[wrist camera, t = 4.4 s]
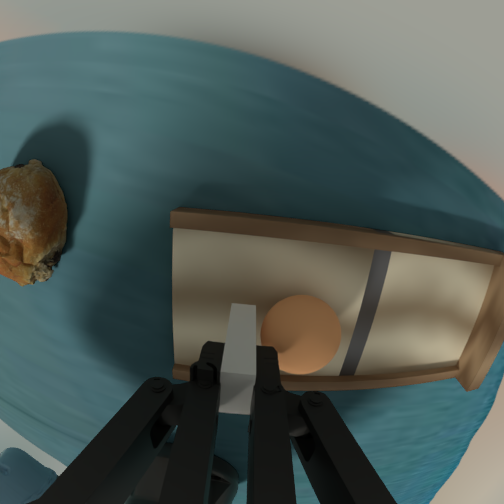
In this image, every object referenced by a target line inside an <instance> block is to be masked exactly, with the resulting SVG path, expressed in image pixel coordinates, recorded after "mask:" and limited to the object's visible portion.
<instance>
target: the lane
mask: <svg viewBox="0 0 504 504" xmlns="http://www.w3.org/2000/svg"><path fill="white" fill-rule="evenodd" d="M170 228H173V254H172V310H173V341H174V360H175V364H174V366H173V369H172V371H173V379H178V380H184V381H190V366H191V365H192V364H193V363H194V362H196V361H198V360H199V357H200V353H201V349H202V346H203V345H204V344H205V343H206V342H207V341H213V342H222V343H225V341H226V335H227V329H228V323H229V317H230V311H231V305H232V303H237V304H247V305H256V345H259V346H262V345H261V338H260V333H261V327H262V323H263V320H264V318H265V316H266V315H267V313H268V312H269V310H270V309H271V308H272V307H273V306H274V305H275V304H276V303H278V302H279V301H281V300H283V299H285V298H287V297H290V296H294V295H309V296H313V297H316V298H319V299H321V300H323V301H324V302H325V303H327V304H328V305H329V306H330V307H331V308H332V309H333V310H334V312H335V313H336V315H337V317H338V319H339V322H340V326H341V341H340V345H339V348H338V351H337V352H336V354H335V356H334V357H333V359H332V360H331V361H330V362H329V363H328V364H327V365H326V366H324V367H323V368H321V369H320V370H317V371H315V372H312V373H309V374H291V373H287V372H285V371H282V370H280V369H279V370H280V379H281V385H282V386H283V387H284V389H285V390H289V391H338V390H360V389H374V388H386V387H396V386H404V385H412V384H419V383H426V382H432V381H438V380H444V379H449V378H454V377H456V379H457V380H458V381H459V382H460V384H461V385H462V386H463V388H464V389H465V390H466V391H471V390H475V389H478V388H479V386H480V385H481V383H482V381H483V380H484V378H485V376H486V374H487V373H488V371H489V369H490V367H491V365H492V363H493V361H494V359H495V357H496V355H497V353H498V351H499V349H500V347H501V345H502V343H503V341H504V253H503V252H500V251H496V250H491V249H486V248H481V247H476V246H471V245H466V244H461V243H455V242H450V241H444V240H439V239H433V238H427V237H421V236H415V235H409V234H403V233H397V232H391V231H384V230H378V229H371V228H364V227H357V226H350V225H343V224H335V223H328V222H320V221H312V220H304V219H296V218H287V217H279V216H270V215H260V214H251V213H241V212H231V211H220V210H209V209H197V208H185V207H178V208H176V209H174V210H172V211H170Z"/></svg>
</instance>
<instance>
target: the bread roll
mask: <svg viewBox="0 0 504 504" xmlns="http://www.w3.org/2000/svg"><path fill="white" fill-rule="evenodd" d="M67 212H68V211H67V204H66V203H65V198H64V195H63V191H62V190H61V188H60V186H59V184H58V182H57V180H56V178H55V176H54V175H53V173H52V172H51V171H50V170H49V169H47V168H45V167H44V166H42V162H41V161H38V160H36V159H33V160H29V164H28V165H23V164H19V165H16V166H13V167H12V166H11V167H7V168H3V169H1V170H0V274H1V275H3V276H5V277H7V278H10V279H12V280H14V281H16V282H17V283H18V284H19V285H20V286H24V285H27V284H34V283H35V281H36V280H39V281H40V282H44V281H47V280H48V279H49V278H50V277H51V276H52V273H53V271H54V270H52V266H53V265H55V264H56V263H57V262H58V261H60V258H61V254H62V248H63V247H64V245H65V242H66V229H67V226H66V224H67V219H68V216H67Z"/></svg>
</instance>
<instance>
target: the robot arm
mask: <svg viewBox="0 0 504 504" xmlns="http://www.w3.org/2000/svg"><path fill="white" fill-rule="evenodd" d="M219 412H223V413H233V414H245V415H250V420H249V426H248V432H249V441H248V475H247V504H296V494H295V484H294V474H293V464H292V454H291V444H290V439H291V441H292V443H293V445H294V448H295V450H296V452H297V454H298V457H299V459H300V461H301V463H302V465H303V468H304V470H305V472H306V474H307V476H308V479H309V481H310V483H311V485H312V487H313V489H314V491H315V494H316V496H317V498H318V500H319V502H320V504H397V503H396V501H395V500H394V498H393V497H392V495H391V494H390V492H389V491H388V489H387V488H386V486H385V485H384V483H383V482H382V480H381V479H380V477H379V476H378V474H377V473H376V471H375V469H374V468H373V466H372V465H371V463H370V462H369V460H368V459H367V457H366V456H365V454H364V453H363V451H362V449H361V448H360V446H359V445H358V443H357V442H356V440H355V439H354V437H353V435H352V434H351V432H350V431H349V429H348V428H347V426H346V424H345V423H344V421H343V420H342V418H341V417H340V415H339V414H338V412H337V410H336V409H335V407H334V406H333V404H332V402H331V401H330V399H329V398H328V397H327V396H326V395H325V394H323V393H321V392H318V391H309V392H306V393H304V394H303V395H302V396H299V395H295V394H292V393H290V392H288V391H286V390H285V389H284V387H283V386H282V385H281V379H280V370H279V361H278V352H277V351H276V350H275V348H274V347H273V346H259V345H256V305H247V304H237V303H232V305H231V311H230V317H229V323H228V329H227V335H226V341H225V343H222V342H213V341H207V342H206V343H205V344H204V345H203V346H202V349H201V353H200V357H199V360H198V361H196V362H194V363H193V364H192V365H191V366H190V381H188V382H186V383H183V384H173V385H172V383H171V382H170V381H169V380H167V379H165V378H162V377H153V378H150V379H148V380H146V381H145V382H144V383H143V384H142V385H141V387H140V388H139V389H138V390H137V391H136V392H135V393H134V394H133V395H132V397H131V398H130V399H129V400H128V401H127V402H126V403H125V404H124V405H123V407H122V408H121V409H120V410H119V411H118V412H117V413H116V414H115V415H114V417H113V418H112V419H111V420H110V421H109V422H108V423H107V424H106V425H105V427H104V428H103V429H102V430H101V431H100V432H99V433H98V434H97V435H96V436H95V438H94V439H93V440H92V441H91V442H90V443H89V444H88V445H87V446H86V448H85V449H84V450H83V451H82V452H81V453H80V454H79V455H78V456H77V457H76V459H75V460H74V461H73V462H72V463H71V464H70V465H69V466H68V467H67V468H66V470H65V471H64V472H63V473H62V474H61V475H60V476H58V475H56V473H55V471H53V470H52V469H50V468H47V467H44V465H42V464H41V463H39V462H38V461H36V460H35V459H34V458H33V457H31V456H30V455H28V454H27V453H26V452H25V451H23V450H21V449H19V448H7V449H6V450H4V451H3V452H2V453H1V454H0V504H231V503H232V501H233V499H234V497H235V495H236V493H237V490H238V473H237V471H236V470H235V469H234V468H233V467H232V466H231V465H230V464H228V463H227V462H225V461H224V460H222V459H220V458H218V457H216V456H214V448H215V440H216V433H217V425H218V413H219ZM176 425H178V427H177V431H176V435H175V439H174V442H173V444H172V443H165V442H166V441H167V439H168V438H169V436H170V435H171V433H172V432H173V430H174V429H175V427H176Z"/></svg>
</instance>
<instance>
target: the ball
mask: <svg viewBox="0 0 504 504" xmlns="http://www.w3.org/2000/svg"><path fill="white" fill-rule="evenodd" d="M260 338H261V345H262V346H273V347H274V348H275V350H276V351H277V352H278V361H279V369H280V370H282V371H285V372H287V373H291V374H309V373H312V372H315V371H317V370H320V369H321V368H323V367H324V366H326V365H327V364H328V363H329V362H330V361H331V360H332V359H333V357H334V356H335V354H336V352H337V351H338V348H339V345H340V341H341V326H340V322H339V319H338V317H337V315H336V313H335V312H334V310H333V309H332V308H331V307H330V306H329V305H328V304H327V303H325V302H324V301H323V300H321V299H319V298H316V297H313V296H309V295H294V296H290V297H287V298H285V299H283V300H281V301H279V302H278V303H276V304H275V305H274V306H273V307H272V308H271V309H270V310H269V312H268V313H267V315H266V316H265V318H264V320H263V323H262V327H261V333H260Z"/></svg>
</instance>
